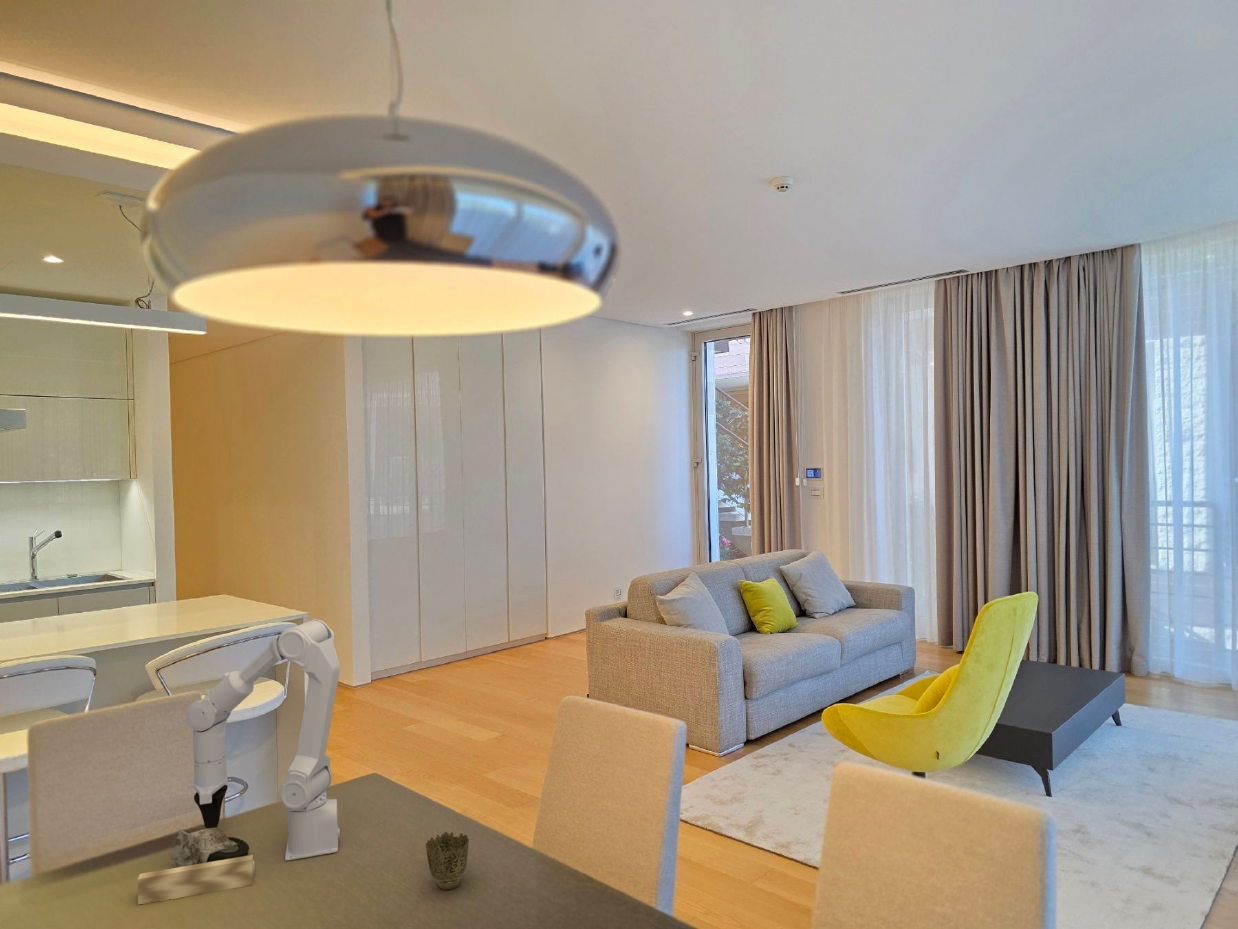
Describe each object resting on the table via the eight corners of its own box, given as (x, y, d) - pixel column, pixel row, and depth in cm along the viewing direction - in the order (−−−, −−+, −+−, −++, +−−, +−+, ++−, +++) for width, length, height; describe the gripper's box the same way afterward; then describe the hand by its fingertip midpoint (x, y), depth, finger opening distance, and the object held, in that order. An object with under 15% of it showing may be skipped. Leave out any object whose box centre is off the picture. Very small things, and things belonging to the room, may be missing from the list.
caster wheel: (252, 872, 157) (207, 889, 148) (213, 850, 162) (167, 865, 153) (261, 837, 157) (216, 852, 148) (221, 816, 162) (176, 829, 153)
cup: (477, 878, 146) (476, 834, 146) (456, 900, 139) (455, 852, 139) (441, 873, 149) (440, 829, 149) (418, 893, 142) (417, 847, 142)
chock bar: (254, 873, 151) (254, 848, 151) (252, 885, 147) (251, 859, 147) (144, 892, 145) (143, 867, 145) (138, 905, 141) (137, 879, 141)
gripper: (193, 749, 168) (195, 815, 168) (181, 774, 154) (183, 846, 154) (231, 744, 170) (233, 810, 170) (222, 768, 157) (224, 839, 157)
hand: (212, 826), depth 162 cm, fingers closed
